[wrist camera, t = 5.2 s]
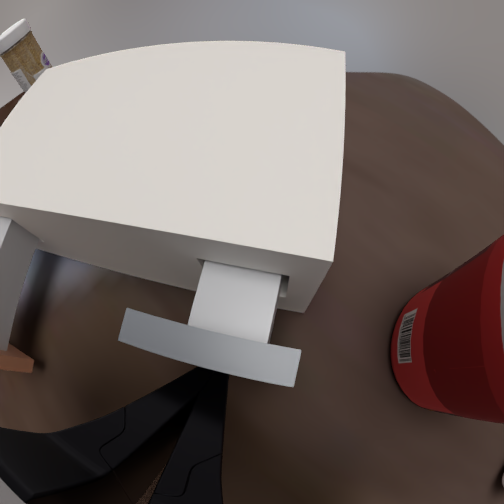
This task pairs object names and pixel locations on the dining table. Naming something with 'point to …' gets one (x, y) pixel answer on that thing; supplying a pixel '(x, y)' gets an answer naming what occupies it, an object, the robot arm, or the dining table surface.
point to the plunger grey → (222, 327)
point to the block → (184, 161)
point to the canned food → (456, 341)
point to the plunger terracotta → (13, 288)
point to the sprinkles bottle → (23, 54)
